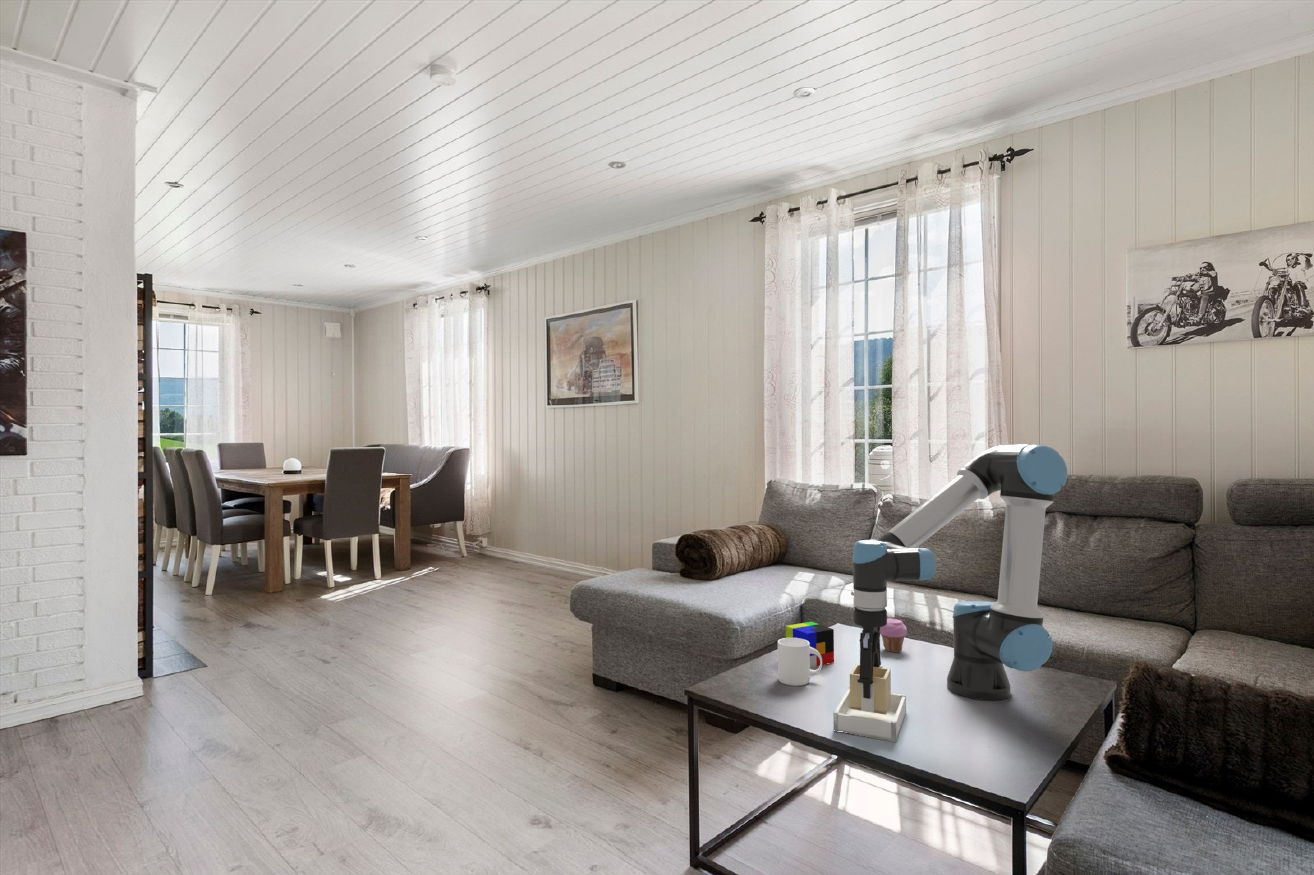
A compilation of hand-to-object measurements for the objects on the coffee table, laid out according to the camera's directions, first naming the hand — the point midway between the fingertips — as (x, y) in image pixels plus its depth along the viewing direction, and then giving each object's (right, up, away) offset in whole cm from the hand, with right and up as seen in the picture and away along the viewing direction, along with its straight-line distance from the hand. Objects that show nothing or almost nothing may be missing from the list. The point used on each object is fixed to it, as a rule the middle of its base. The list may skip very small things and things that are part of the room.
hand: (870, 704), depth 161 cm
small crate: (0, 0, 0) cm, 0 cm away
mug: (-11, -5, +28) cm, 30 cm away
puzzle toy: (-4, -5, +46) cm, 46 cm away
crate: (0, -4, 0) cm, 4 cm away
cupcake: (+24, -5, +55) cm, 60 cm away
